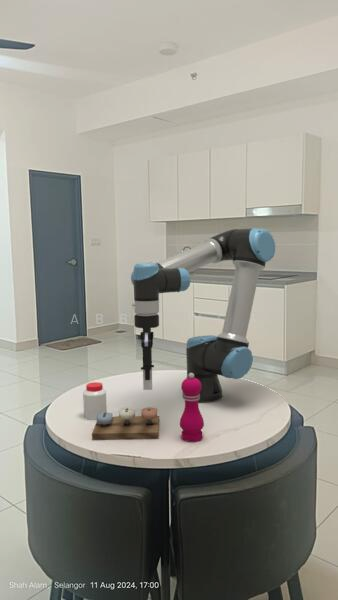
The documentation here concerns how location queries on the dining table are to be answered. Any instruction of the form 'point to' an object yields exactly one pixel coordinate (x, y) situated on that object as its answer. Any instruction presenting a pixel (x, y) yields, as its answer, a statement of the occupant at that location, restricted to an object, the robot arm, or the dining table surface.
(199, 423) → the pepper mill
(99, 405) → the pill bottle
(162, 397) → the dining table surface
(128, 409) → the button
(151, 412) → the button
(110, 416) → the button
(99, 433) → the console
